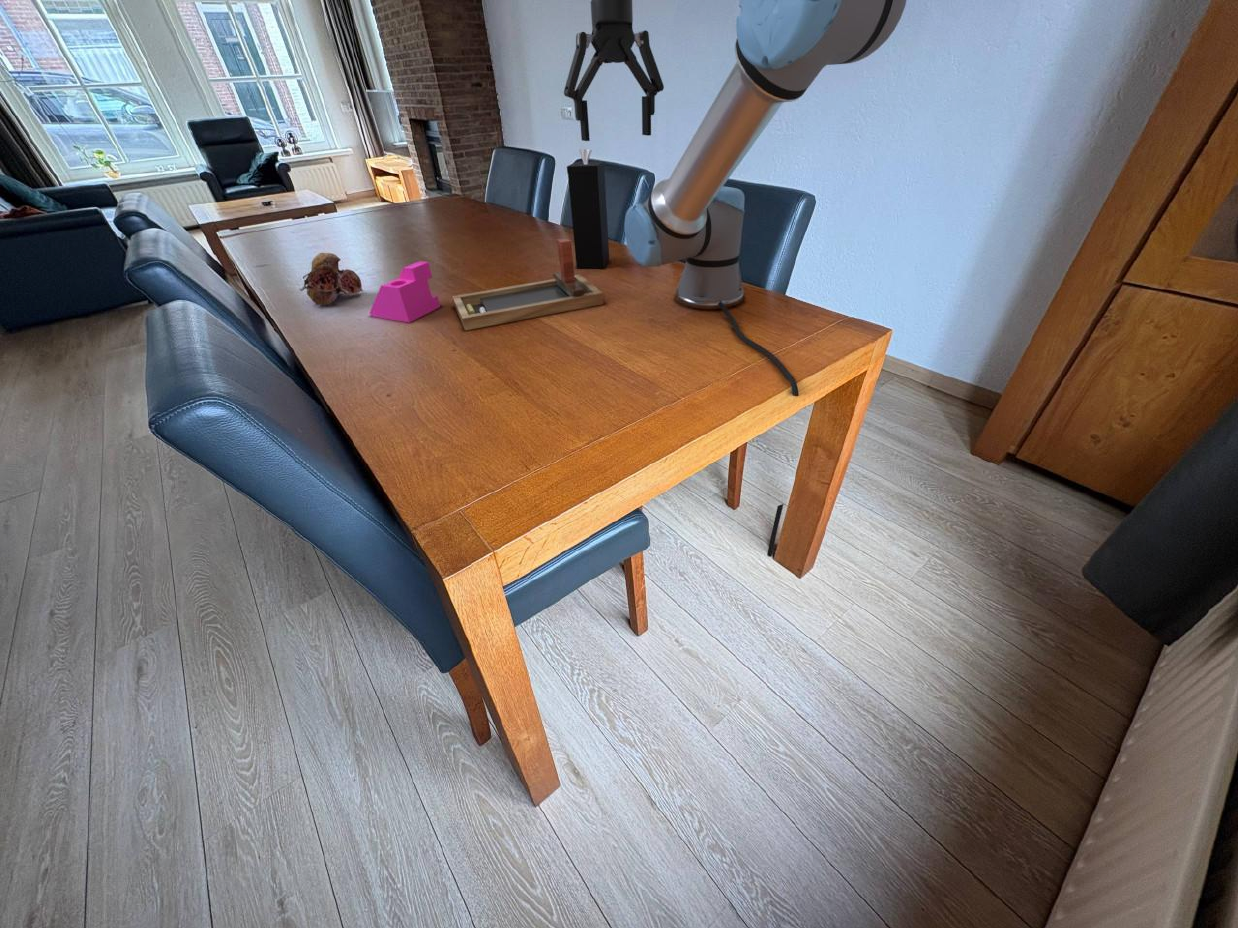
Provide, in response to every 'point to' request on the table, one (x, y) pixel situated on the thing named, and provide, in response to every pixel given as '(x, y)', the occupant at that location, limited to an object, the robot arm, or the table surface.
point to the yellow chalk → (470, 309)
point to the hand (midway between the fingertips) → (616, 138)
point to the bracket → (406, 295)
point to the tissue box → (589, 212)
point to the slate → (523, 302)
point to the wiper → (567, 269)
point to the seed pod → (329, 280)
